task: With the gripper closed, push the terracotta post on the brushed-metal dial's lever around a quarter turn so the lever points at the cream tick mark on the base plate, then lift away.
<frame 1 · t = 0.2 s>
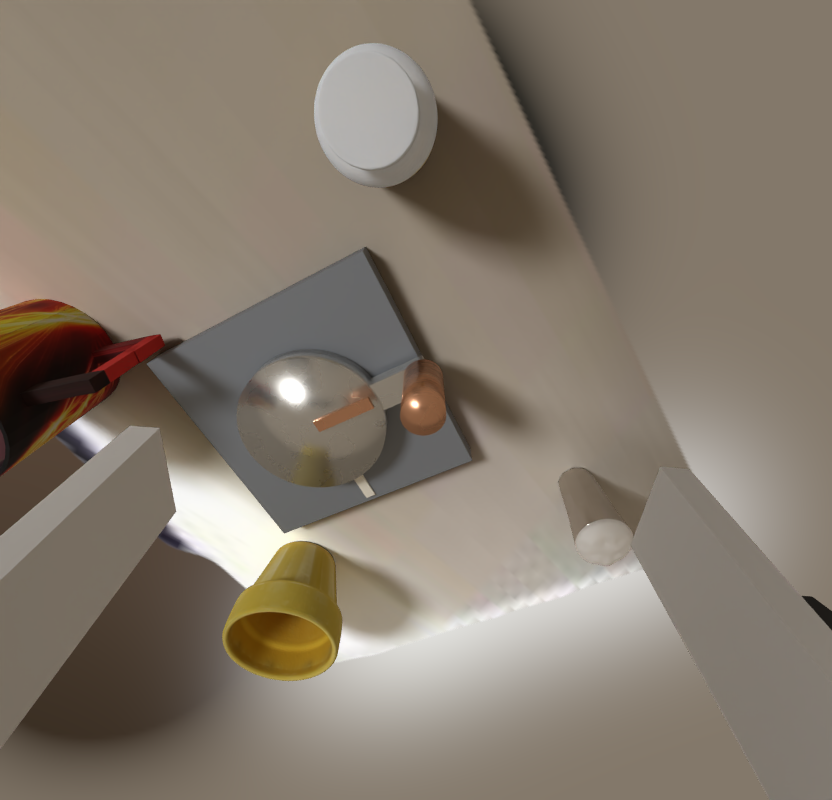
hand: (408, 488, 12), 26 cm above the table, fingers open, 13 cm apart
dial: (336, 427, 35), point 6 cm above the table, hinge at 90.0°
base plate: (321, 403, 41), on the table
mug: (78, 340, 39), on the table
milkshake: (578, 479, 44), on the table
plant pot: (305, 562, 50), on the table
pill bottle: (387, 130, 31), on the table
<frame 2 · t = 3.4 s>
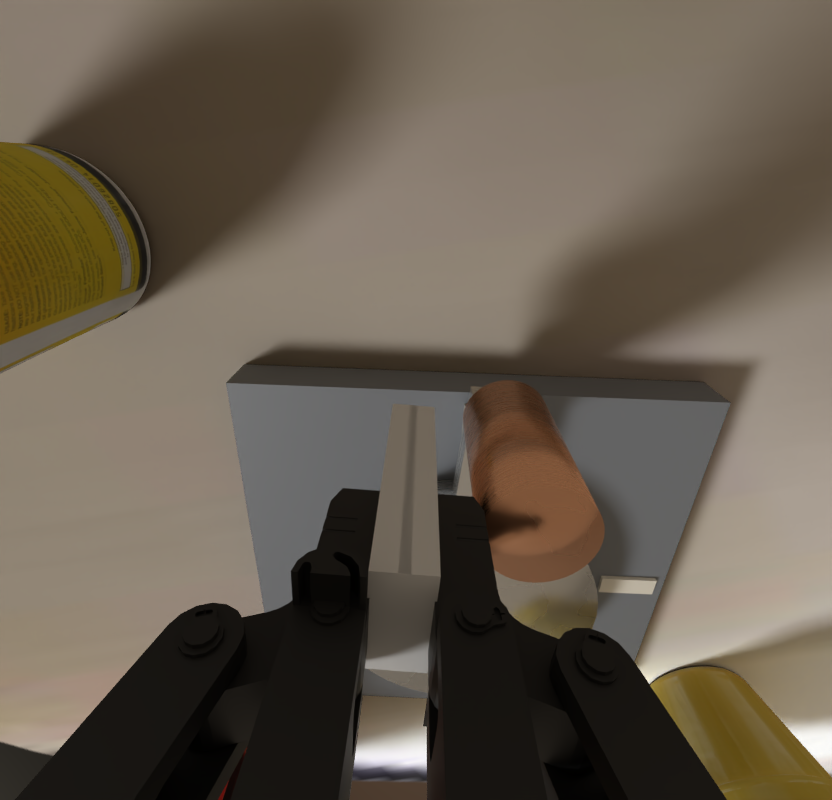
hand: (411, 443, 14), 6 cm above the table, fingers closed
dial: (475, 608, 18), point 6 cm above the table, hinge at 85.2°, touching gripper
base plate: (456, 546, 24), on the table
mug: (238, 701, 32), on the table
plant pot: (690, 694, 30), on the table
pill bottle: (78, 239, 18), on the table
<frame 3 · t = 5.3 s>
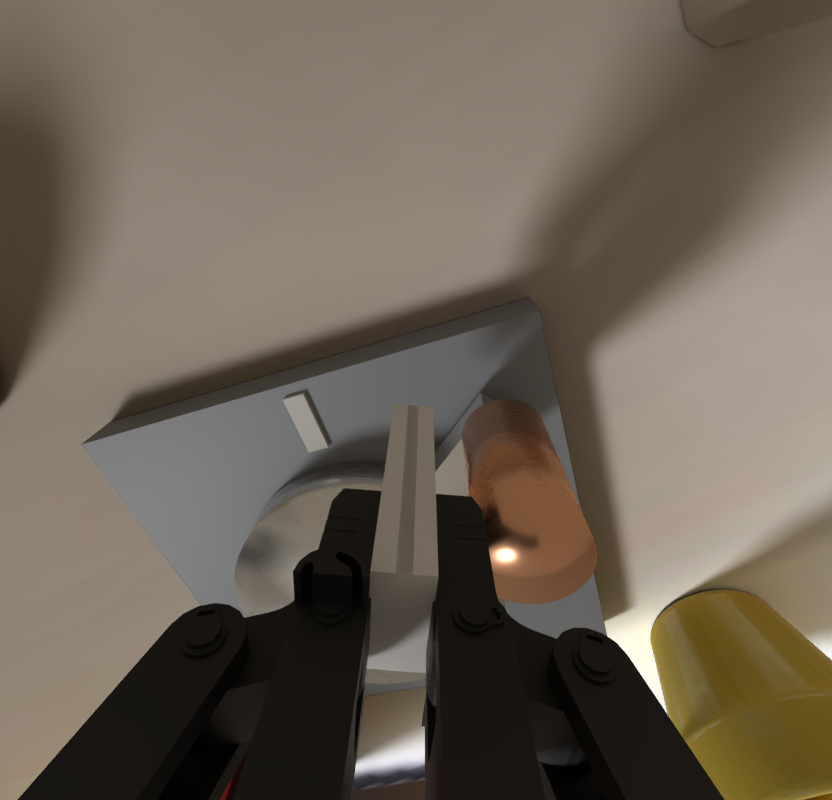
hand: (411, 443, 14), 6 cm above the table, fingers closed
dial: (397, 600, 18), point 6 cm above the table, hinge at 40.5°, touching gripper
base plate: (379, 533, 24), on the table
mug: (269, 724, 33), on the table
plant pot: (708, 625, 27), on the table
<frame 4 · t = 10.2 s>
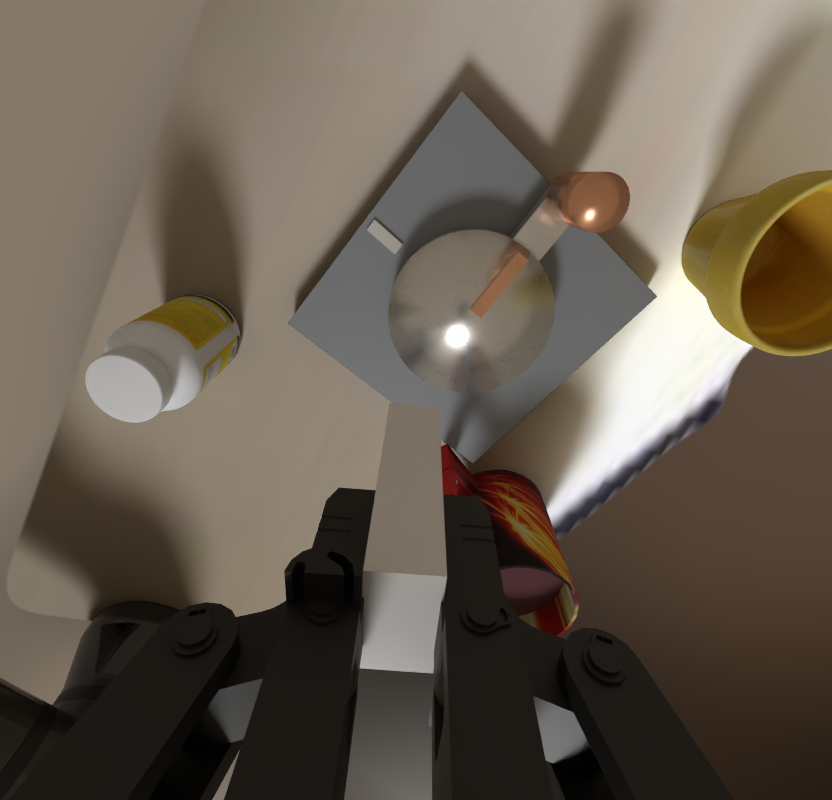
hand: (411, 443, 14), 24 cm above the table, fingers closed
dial: (499, 294, 31), point 6 cm above the table, hinge at 3.7°
base plate: (466, 303, 37), on the table
mug: (477, 499, 46), on the table, touching base plate
plant pot: (725, 246, 35), on the table
pill bottle: (206, 330, 39), on the table
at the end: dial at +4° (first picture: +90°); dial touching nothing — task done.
